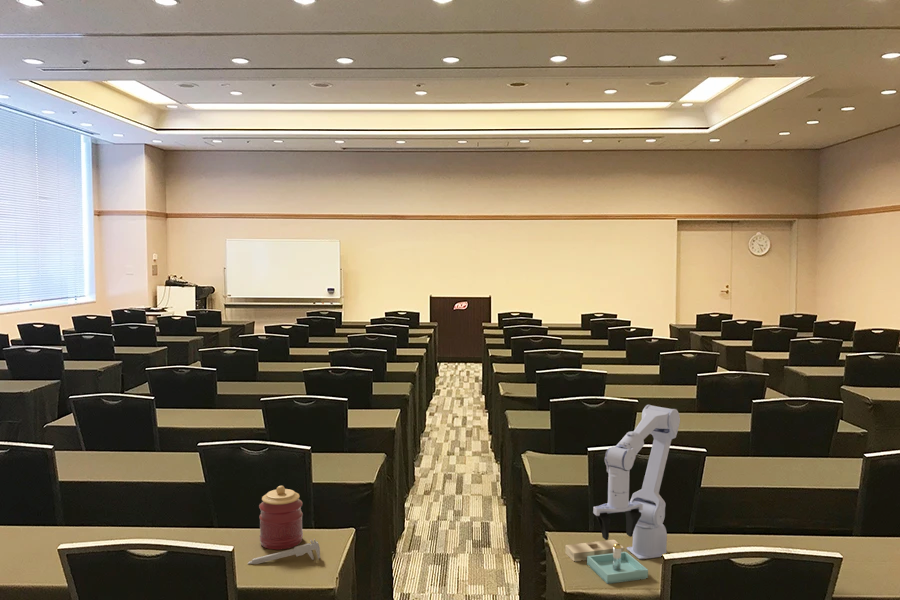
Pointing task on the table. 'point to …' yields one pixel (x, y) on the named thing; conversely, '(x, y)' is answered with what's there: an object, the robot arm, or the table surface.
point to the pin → (617, 557)
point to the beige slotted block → (590, 549)
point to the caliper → (290, 553)
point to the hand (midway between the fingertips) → (617, 536)
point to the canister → (281, 519)
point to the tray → (627, 573)
